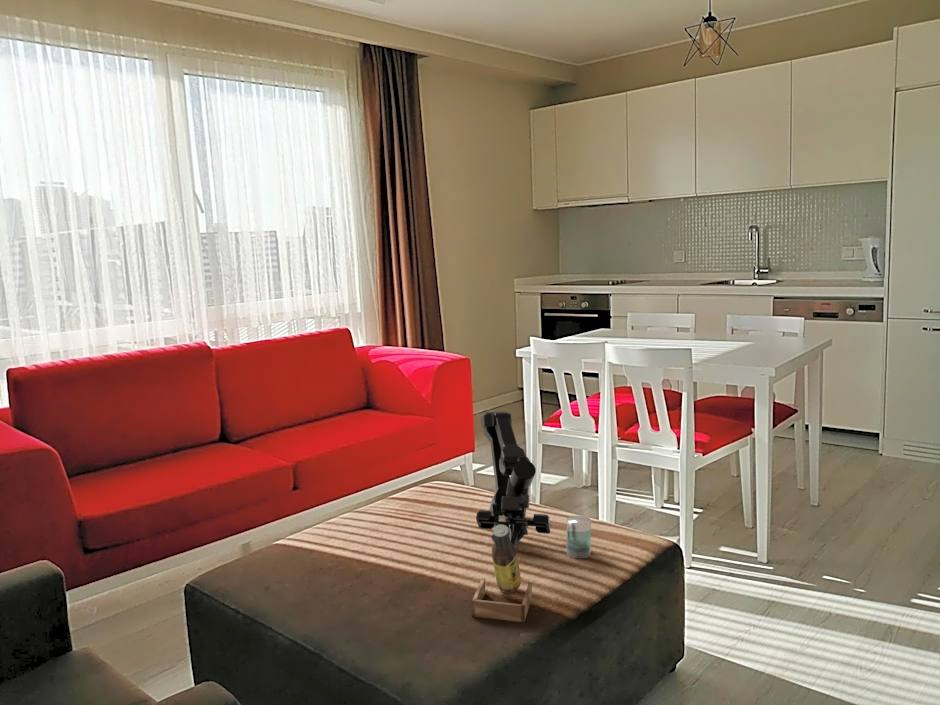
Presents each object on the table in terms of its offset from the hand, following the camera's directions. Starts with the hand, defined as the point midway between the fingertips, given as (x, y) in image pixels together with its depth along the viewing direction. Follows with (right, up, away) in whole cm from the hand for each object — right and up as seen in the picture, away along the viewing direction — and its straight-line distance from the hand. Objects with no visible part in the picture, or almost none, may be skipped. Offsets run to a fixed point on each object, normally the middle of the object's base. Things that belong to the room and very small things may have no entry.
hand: (509, 552), depth 198 cm
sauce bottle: (0, -9, +3) cm, 9 cm away
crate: (-2, -12, -6) cm, 13 cm away
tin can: (+20, -6, +23) cm, 31 cm away
